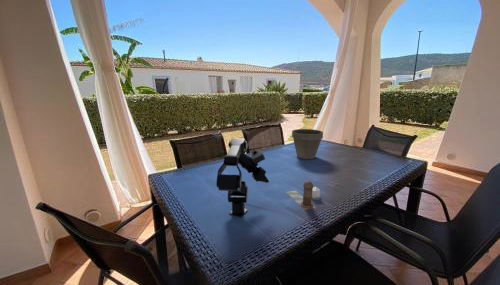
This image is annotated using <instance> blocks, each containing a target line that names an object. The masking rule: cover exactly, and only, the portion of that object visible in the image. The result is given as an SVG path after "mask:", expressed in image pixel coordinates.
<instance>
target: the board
mask: <svg viewBox="0 0 500 285" xmlns="http://www.w3.org/2000/svg"><path fill="white" fill-rule="evenodd" d="M285 193H286V194H287V195H288V196H290V198H292V200H294V201H295V202H296V203H297V204H298V205H299V206H300V207H301V208H303V209H304V210H305V211H306V210H311V209H316V206H315V205H313V207H312V208H309V209H308V208H304V207H302V206H301V202H303V195H302V194H300V192H298V191H297V190H291V191H285Z"/></svg>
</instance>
